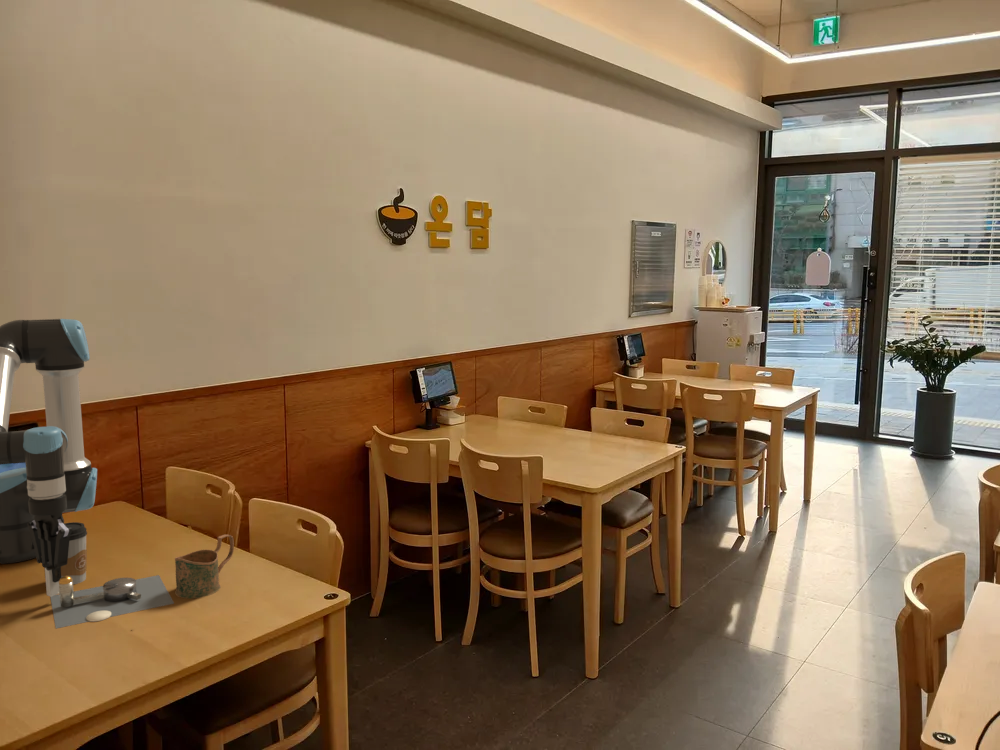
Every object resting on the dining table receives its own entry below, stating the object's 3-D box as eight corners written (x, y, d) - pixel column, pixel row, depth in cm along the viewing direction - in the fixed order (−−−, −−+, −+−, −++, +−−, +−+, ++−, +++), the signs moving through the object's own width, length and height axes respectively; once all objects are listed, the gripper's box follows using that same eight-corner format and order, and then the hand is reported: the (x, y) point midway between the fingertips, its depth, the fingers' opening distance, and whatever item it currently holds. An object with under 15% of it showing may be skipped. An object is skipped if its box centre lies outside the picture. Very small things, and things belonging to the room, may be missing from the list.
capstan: (133, 583, 191) (132, 555, 190) (141, 600, 181) (139, 571, 180) (58, 598, 183) (56, 568, 182) (62, 617, 173) (60, 586, 172)
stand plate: (50, 600, 184) (50, 594, 184) (159, 579, 197) (158, 573, 197) (56, 635, 167) (56, 628, 167) (175, 609, 180) (174, 603, 180)
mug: (251, 581, 197) (249, 535, 195) (197, 608, 181) (195, 558, 179) (216, 573, 202) (214, 528, 200) (161, 599, 186) (159, 550, 184)
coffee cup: (74, 593, 189) (69, 533, 187) (44, 590, 191) (39, 531, 189) (98, 579, 197) (94, 522, 195) (69, 577, 199) (65, 520, 197)
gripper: (13, 495, 177) (21, 594, 180) (49, 503, 171) (56, 605, 174) (45, 487, 183) (52, 583, 186) (80, 494, 177) (87, 593, 180)
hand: (54, 593), depth 180 cm, fingers closed
